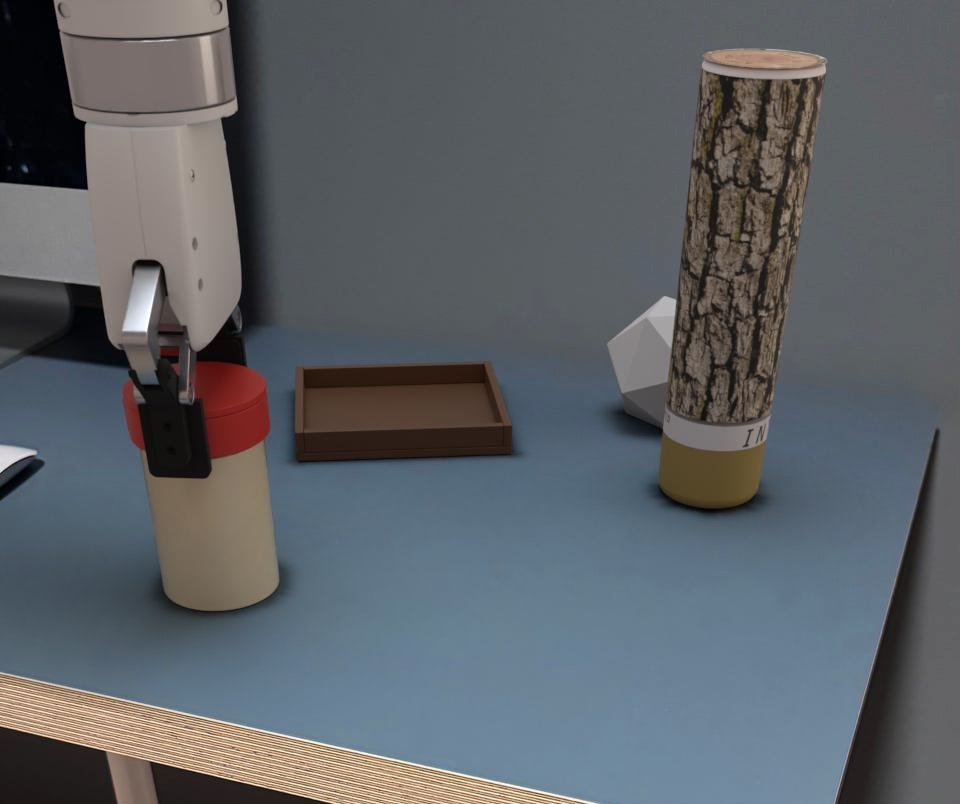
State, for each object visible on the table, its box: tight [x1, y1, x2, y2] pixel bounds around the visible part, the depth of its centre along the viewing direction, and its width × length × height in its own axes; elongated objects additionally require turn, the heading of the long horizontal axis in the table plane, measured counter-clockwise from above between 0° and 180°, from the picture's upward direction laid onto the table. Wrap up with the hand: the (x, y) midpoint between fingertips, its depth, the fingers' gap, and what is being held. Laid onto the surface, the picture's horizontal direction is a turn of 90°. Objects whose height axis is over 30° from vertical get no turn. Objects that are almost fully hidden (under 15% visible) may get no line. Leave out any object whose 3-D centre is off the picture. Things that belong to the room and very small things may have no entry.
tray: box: [294, 360, 513, 462], centre depth 93 cm, size 15×13×2 cm
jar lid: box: [121, 361, 271, 458], centre depth 68 cm, size 8×8×2 cm
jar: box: [138, 438, 280, 612], centre depth 71 cm, size 7×7×11 cm
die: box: [606, 295, 677, 429], centre depth 92 cm, size 8×9×10 cm
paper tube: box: [657, 48, 828, 510], centre depth 77 cm, size 7×7×25 cm
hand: (203, 439), depth 69 cm, fingers open, 9 cm apart
